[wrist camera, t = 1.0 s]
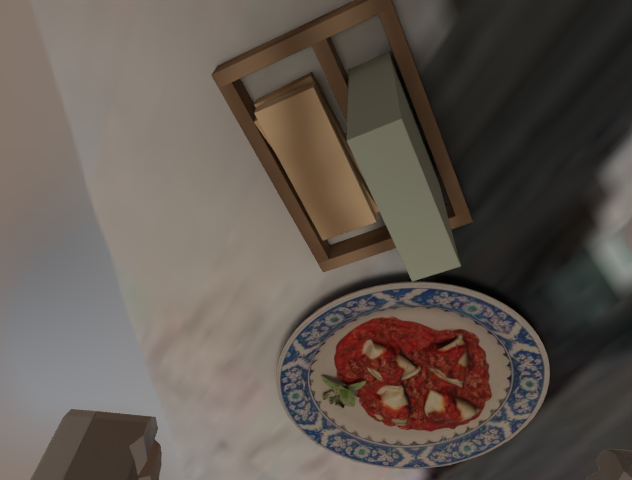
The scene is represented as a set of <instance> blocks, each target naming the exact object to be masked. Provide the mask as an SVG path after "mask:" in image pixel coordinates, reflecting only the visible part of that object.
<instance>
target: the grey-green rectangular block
mask: <svg viewBox="0 0 632 480" xmlns="http://www.w3.org/2000/svg"><path fill="white" fill-rule="evenodd" d="M347 143H348V145H349V147H350V149H351V151H352V154H353V156H354V158H355V160H356V162H357V164H358V166H359V169H360V171H361V173H362V175H363V177H364V179H365V181H366V184H367V186H368V188H369V190H370V192H371V194H372V196H373V199H374V201H375V203H376V205H377V207H378V209H379V211H380V214H381V216H382V218H383V220H384V222H385V224H386V227H387V229H388V231H389V233H390V235H391V237H392V239H393V242H394V244H395V246H396V248H397V250H398V252H399V254H400V257H401V259H402V261H403V263H404V265H405V267H406V269H407V272H408V274H409V276H410V278H411V280H412V281H416V280H419V279H422V278H425V277H428V276H431V275H435V274H438V273H441V272H444V271H447V270H450V269H454V268H457V267H460V262H459V258H458V254H457V250H456V246H455V242H454V239H453V235H452V231H451V227H450V223H449V219H448V215H447V212H446V208H445V204H444V200H443V196H442V192H441V188H440V185H439V181H438V177H437V173H436V170H435V168H434V165H433V163H432V160H431V157H430V155H429V152H428V150H427V147H426V144H425V142H424V139H423V137H422V134H421V132H420V129H419V126H418V124H417V121H416V119H415V116H414V113H413V111H412V108H411V106H410V103H409V101H408V98H407V95H406V93H405V90H404V88H403V85H402V82H401V80H400V77H399V75H398V72H397V69H396V67H395V64H394V62H393V59H392V57H391V54H390V52H388V53H386V54H383V55H381V56H379V57H377V58H374V59H372V60H370V61H367V62H365V63H363V64H361V65H358V66H356V67H354V68H352V69H349V84H348V113H347Z"/></svg>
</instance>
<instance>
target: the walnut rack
mask: <svg viewBox="0 0 632 480" xmlns="http://www.w3.org/2000/svg"><path fill="white" fill-rule="evenodd" d="M378 14H379V17H380V19H381V22H382V25H383V27H384V30H385V32H386V35H387V38H388V40H389V43H390V45H391V48H392V51H393V53H394V56H395V58H396V61H397V64H398V66H399V69H400V72H401V74H402V77H403V79H404V82H405V85H406V87H407V90H408V92H409V95H410V98H411V100H412V103H413V105H414V108H415V111H416V113H417V116H418V118H419V121H420V124H421V126H422V129H423V131H424V134H425V137H426V139H427V142H428V144H429V147H430V150H431V152H432V155H433V158H434V160H435V163H436V165H437V168H438V171H439V173H440V176H441V178H442V181H443V184H444V186H445V189H446V191H447V194H448V197H449V199H450V202H451V204H448V205H445V208H446V212H447V215H448V219H449V223H450V227H451V229H454V228H457V227H460V226H463V225H466V224H469V223H471V222H472V218H471V215H470V212H469V209H468V206H467V204H466V201H465V198H464V196H463V193H462V190H461V187H460V185H459V182H458V179H457V176H456V174H455V171H454V168H453V166H452V163H451V160H450V157H449V155H448V152H447V149H446V146H445V144H444V141H443V138H442V136H441V133H440V130H439V127H438V125H437V122H436V119H435V116H434V114H433V111H432V108H431V106H430V103H429V100H428V97H427V95H426V92H425V89H424V86H423V84H422V81H421V78H420V76H419V73H418V70H417V67H416V65H415V62H414V59H413V57H412V54H411V51H410V48H409V46H408V43H407V40H406V37H405V35H404V32H403V29H402V27H401V24H400V21H399V18H398V16H397V13H396V10H395V7H394V5H393V2H392V0H354V1H352V2H350V3H348V4H346V5H344V6H342V7H340V8H338V9H336V10H333V11H331V12H329V13H327V14H325V15H323V16H321V17H319V18H317V19H315V20H313V21H310V22H308V23H306V24H304V25H302V26H300V27H298V28H296V29H294V30H292V31H290V32H288V33H285V34H283V35H281V36H279V37H277V38H275V39H273V40H271V41H269V42H267V43H265V44H262V45H260V46H258V47H256V48H254V49H252V50H250V51H248V52H246V53H244V54H242V55H239V56H237V57H235V58H233V59H231V60H229V61H227V62H225V63H223V64H221V65H219V66H217V68H216V69H215V70H214V72H213V73H212V77H213V79H214V80H215V82H216V84H217V86H218V88H219V89H220V91H221V93H222V95H223V96H224V98H225V100H226V102H227V103H228V105H229V107H230V109H231V110H232V112H233V114H234V116H235V118H236V119H237V121H238V123H239V125H240V126H241V128H242V130H243V132H244V133H245V135H246V137H247V139H248V140H249V142H250V144H251V146H252V148H253V149H254V151H255V153H256V155H257V156H258V158H259V160H260V162H261V163H262V165H263V167H264V169H265V171H266V172H267V174H268V176H269V178H270V179H271V181H272V183H273V185H274V186H275V188H276V190H277V192H278V193H279V195H280V197H281V199H282V201H283V202H284V204H285V206H286V208H287V209H288V211H289V213H290V215H291V216H292V218H293V220H294V222H295V223H296V225H297V227H298V229H299V231H300V232H301V234H302V236H303V238H304V239H305V241H306V243H307V245H308V246H309V248H310V250H311V252H312V254H313V255H314V257H315V259H316V261H317V262H318V264H319V266H320V268H321V269H322V271H323V272H326V271H329V270H332V269H335V268H338V267H340V266H343V265H346V264H349V263H352V262H355V261H358V260H361V259H364V258H367V257H370V256H373V255H376V254H379V253H382V252H385V251H388V250H391V249H394V248H396V246H395V244H394V242H393V239H392V237H391V235H390V233H389V231H388V229H387V227H386V226H385V227H382V228H379V229H376V230H373V231H371V232H368V233H365V234H362V235H359V236H356V237H353V238H350V239H348V240H345V241H342V242H339V243H336V244H333V245H330V244H329V243H328V241H327V240H324V241H323V240H322V238H321V236H320V235H319V233H318V231H317V229H316V227H315V225H314V223H313V222H312V220H311V218H310V216H309V214H308V212H307V210H306V209H305V207H304V205H303V203H302V201H301V199H300V197H299V196H298V194H297V192H296V190H295V188H294V186H293V184H292V183H291V181H290V179H289V177H288V175H287V173H286V171H285V170H284V168H283V166H282V164H281V162H280V160H279V158H278V157H277V155H276V153H275V152H274V150H273V149H272V147H271V146H270V144H269V143H268V142H267V140H266V139H265V137H264V136H263V135H262V133H261V132H260V130H259V129H258V127H257V126H256V125H255V123H254V120H255V118H256V116H255V114H254V112H255V110H256V108H255V106H254V104H253V102H252V100H251V98H250V97H249V95H248V93H247V91H246V89H245V87H244V85H243V84H242V82H241V80H240V78H242V77H244V76H247V75H249V74H251V73H253V72H255V71H257V70H259V69H262V68H264V67H266V66H268V65H270V64H272V63H274V62H277V61H279V60H281V59H283V58H285V57H287V56H290V55H292V54H294V53H296V52H298V51H300V50H302V49H305V48H307V47H309V46H311V45H312V47H313V49H314V51H315V53H316V56H317V58H318V60H319V62H320V64H321V66H322V69H323V71H324V73H325V75H326V77H327V80H328V82H329V84H330V86H331V88H332V91H333V93H334V95H335V97H336V99H337V101H338V104H339V106H340V108H341V110H342V112H343V115H344V117H345V119H346V121H347V113H348V84H349V80H348V77H347V75H346V73H345V70H344V68H343V66H342V64H341V61H340V59H339V57H338V54H337V52H336V50H335V48H334V45H333V43H332V41H331V38H330V36H333V35H335V34H337V33H339V32H341V31H343V30H345V29H348V28H350V27H352V26H354V25H356V24H358V23H360V22H363V21H365V20H367V19H369V18H371V17H373V16H376V15H378Z"/></svg>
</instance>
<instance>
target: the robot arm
mask: <svg viewBox="0 0 632 480" xmlns="http://www.w3.org/2000/svg"><path fill="white" fill-rule="evenodd" d="M157 430H158V427H157V422H156V417H151V416H140V415H130V414H120V413H110V412H100V411H87V410H75V409H71V410H70V411H69V412H68V413H67V414H66V415H65V416H64V417H63V419H62V421H61V423H60V424H59V427H58V428H57V430H56V432H55V434H54V436H53V438H52V440H51V442H50V443H49V445H48V447H47V450H46V451H45V453H44V455H43V457H42V459H41V461H40V463H39V464H38V467H37V469H36V470H35V472H34V474H33V476H32V478H31V480H159V475H160V469H161V446H160V444H159V443H158V442H157V441H156V440H155V436H156V433H157ZM596 462H597V464H598V466H599V469H600V470H598V471H596V472H594V473H593V474H591V475H589V476H588V477H587V480H632V450H618V449H606V450H604V451H603V452H601V453H600V455H599V457H598V459H597V460H596Z"/></svg>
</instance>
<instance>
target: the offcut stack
mask: <svg viewBox="0 0 632 480" xmlns="http://www.w3.org/2000/svg"><path fill="white" fill-rule="evenodd" d="M254 106H255V107H256V110H255V112H254V114H255V116H256V118H255V120H254V123H255V125H256V126H257V127H258V129H259V130H260V132H261V133H262V135H263V136H264V137H265V139H266V140H267V142H268V143H269V144H270V146H271V147H272V149H273V150H274V152H275V153H276V155H277V157H278V158H279V160H280V162H281V164H282V166H283V168H284V170H285V171H286V173H287V175H288V177H289V179H290V181H291V183H292V184H293V186H294V188H295V190H296V192H297V194H298V196H299V197H300V199H301V201H302V203H303V205H304V207H305V209H306V210H307V212H308V214H309V216H310V218H311V220H312V222H313V223H314V225H315V227H316V229H317V231H318V233H319V235H320V236H321V238H322V240H323V241H324V240H327V239H329V238H332V237H335V236H338V235H341V234H344V233H347V232H349V231H352V230H355V229H358V228H361V227H364V226H367V225H369V224H372V223H375V222H376V213H377V212H379V209H378V207H377V205H376V203H375V201H374V199H373V196H372V194H371V192H370V190H369V188H368V186H367V184H366V181H365V179H364V177H363V175H362V173H361V171H360V169H359V166H358V164H357V162H356V160H355V158H354V156H353V154H352V151H351V149H350V147H349V145H348V143H347V138H346V136H345V134H344V132H343V130H342V129H341V127H340V125H339V123H338V121H337V119H336V117H335V115H334V113H333V111H332V110H331V108H330V106H329V104H328V102H327V100H326V98H325V96H324V94H323V92H322V91H321V89H320V87H319V85H318V83H317V81H316V79H315V77H314V75H313V73H312V72H311V73H309V74H307V75H305V76H303V77H301V78H299V79H297V80H295V81H293V82H291V83H289V84H287V85H285V86H283V87H281V88H280V89H278V90H276V91H274V92H272V93H270V94H268V95H266V96H264V97H262V98H260V99H258V100H256V101H255V104H254Z"/></svg>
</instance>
